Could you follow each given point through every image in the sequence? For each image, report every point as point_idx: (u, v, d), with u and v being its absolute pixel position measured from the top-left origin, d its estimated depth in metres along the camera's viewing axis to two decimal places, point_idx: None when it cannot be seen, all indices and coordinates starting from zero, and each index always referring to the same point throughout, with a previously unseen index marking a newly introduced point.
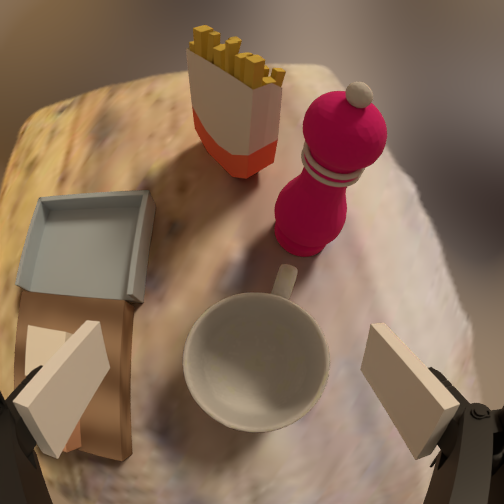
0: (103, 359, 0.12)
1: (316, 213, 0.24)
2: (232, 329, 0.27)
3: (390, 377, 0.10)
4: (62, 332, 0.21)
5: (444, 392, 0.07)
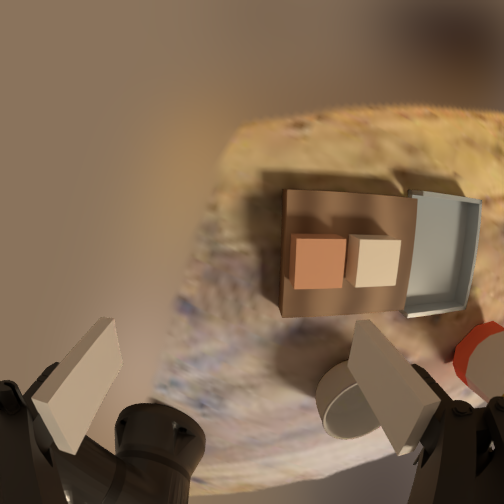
0: (117, 355, 0.13)
1: None
2: None
3: (374, 373, 0.11)
4: (395, 282, 0.29)
5: (425, 388, 0.08)
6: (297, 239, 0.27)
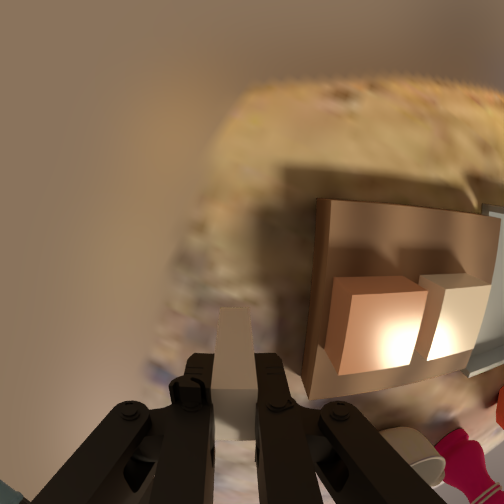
0: None
1: (462, 481, 0.19)
2: None
3: None
4: (474, 344, 0.16)
5: (250, 374, 0.09)
6: (353, 296, 0.14)
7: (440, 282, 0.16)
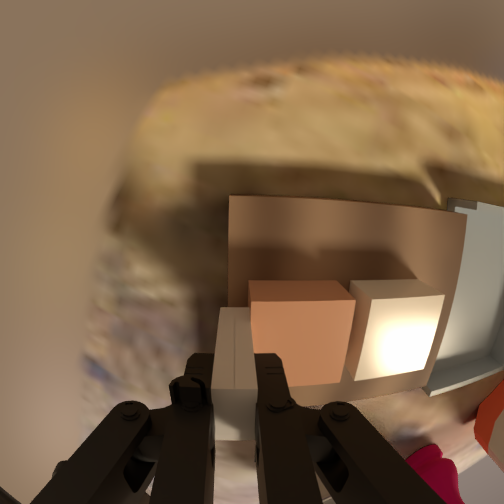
0: None
1: None
2: None
3: None
4: (424, 364, 0.14)
5: (250, 374, 0.09)
6: (253, 302, 0.13)
7: (371, 290, 0.14)
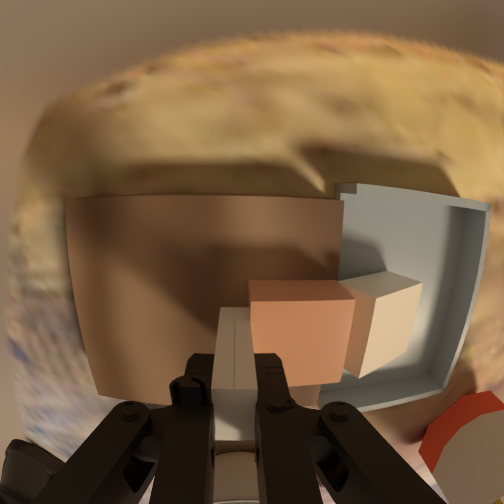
0: None
1: None
2: None
3: None
4: (406, 347, 0.17)
5: (249, 374, 0.09)
6: (252, 302, 0.13)
7: (365, 289, 0.15)
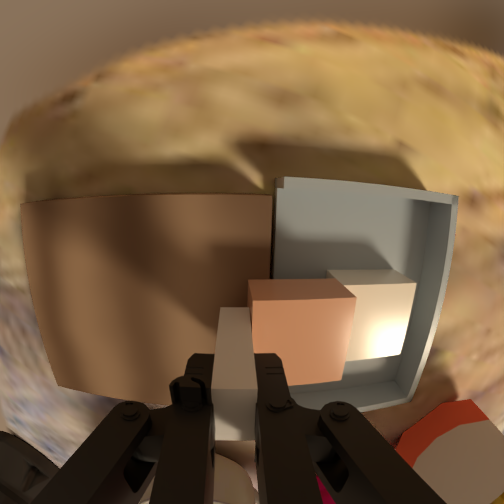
0: None
1: None
2: None
3: None
4: (400, 349, 0.16)
5: (249, 374, 0.09)
6: (254, 302, 0.13)
7: (344, 278, 0.16)
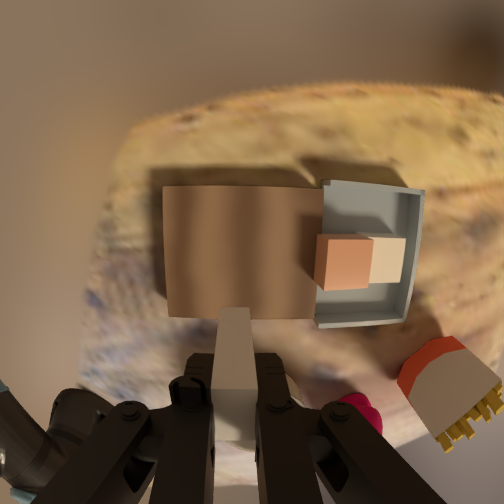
0: None
1: None
2: None
3: None
4: (399, 279, 0.29)
5: (250, 374, 0.09)
6: (329, 240, 0.26)
7: (366, 235, 0.29)
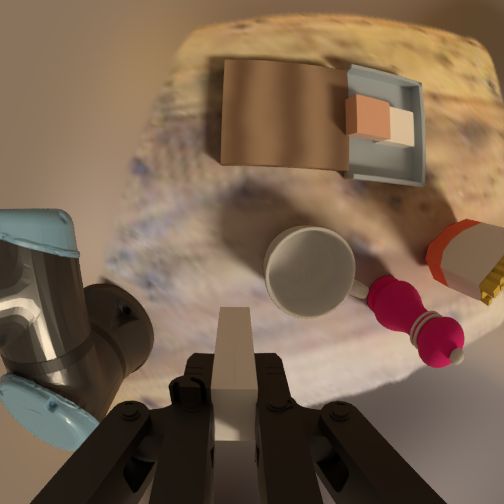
0: None
1: (396, 313, 0.34)
2: (325, 247, 0.38)
3: None
4: (413, 143, 0.33)
5: (250, 374, 0.09)
6: (356, 95, 0.29)
7: None
